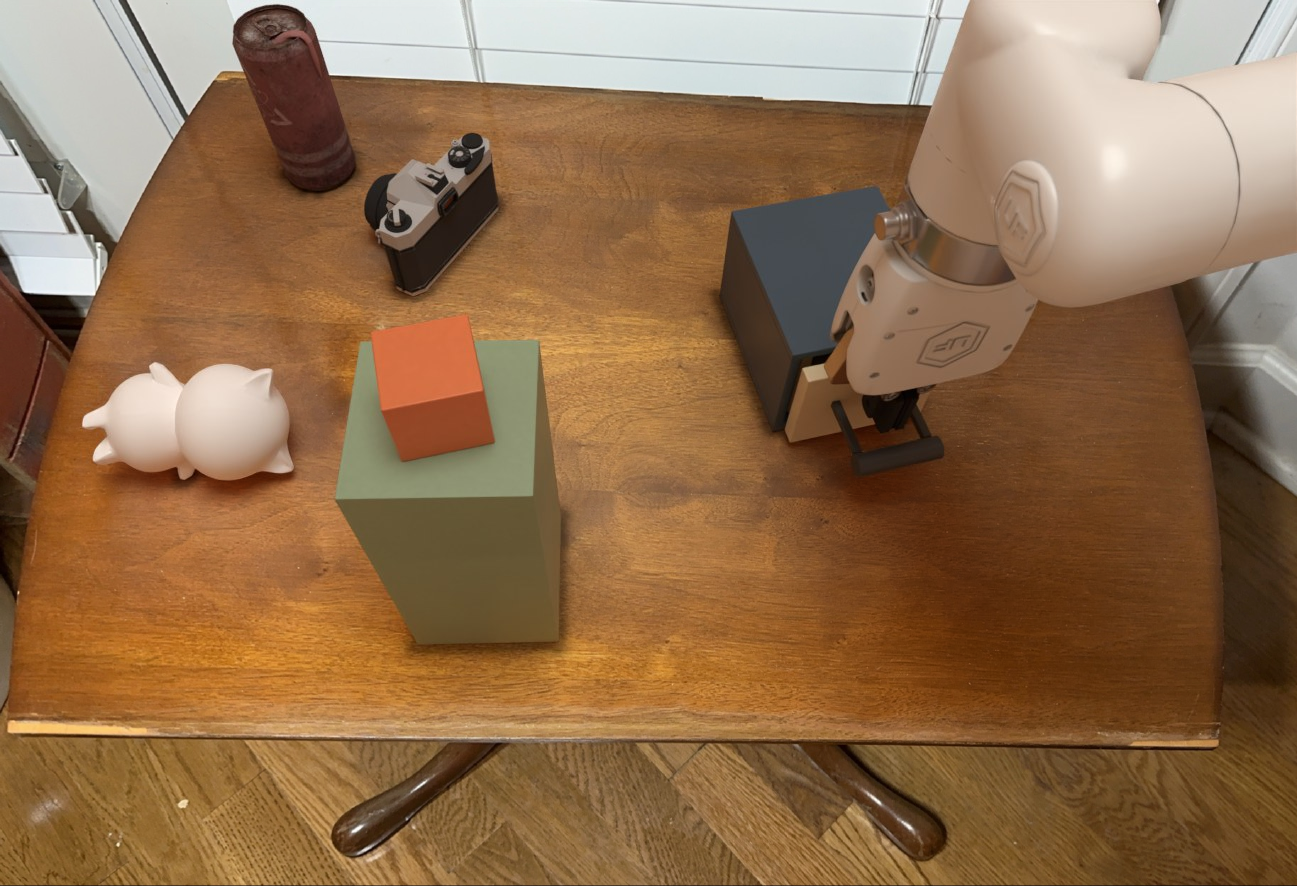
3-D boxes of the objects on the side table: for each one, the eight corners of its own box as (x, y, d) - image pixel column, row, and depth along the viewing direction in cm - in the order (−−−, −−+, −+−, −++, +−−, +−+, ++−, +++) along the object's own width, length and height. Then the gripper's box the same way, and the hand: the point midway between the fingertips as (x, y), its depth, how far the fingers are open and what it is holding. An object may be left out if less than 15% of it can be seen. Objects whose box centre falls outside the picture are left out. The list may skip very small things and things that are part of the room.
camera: (434, 171, 81) (409, 89, 73) (511, 199, 79) (493, 118, 71) (350, 278, 76) (313, 202, 68) (430, 311, 74) (401, 237, 66)
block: (495, 443, 43) (483, 390, 40) (401, 462, 43) (380, 410, 39) (480, 369, 45) (467, 313, 42) (390, 387, 45) (369, 331, 41)
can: (346, 198, 79) (297, 55, 67) (275, 188, 79) (214, 44, 67) (369, 150, 82) (326, 5, 70) (300, 141, 82) (246, -5, 70)
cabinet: (914, 401, 69) (953, 323, 61) (772, 431, 68) (792, 355, 60) (850, 270, 76) (877, 185, 68) (719, 295, 74) (731, 210, 66)
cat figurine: (57, 387, 57) (250, 383, 57) (140, 330, 66) (306, 327, 66) (97, 509, 61) (278, 505, 61) (170, 439, 70) (327, 436, 70)
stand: (558, 641, 59) (533, 496, 42) (417, 644, 59) (333, 499, 42) (561, 516, 64) (539, 339, 47) (430, 518, 63) (359, 341, 46)
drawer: (952, 481, 65) (989, 423, 58) (817, 512, 63) (840, 456, 57) (857, 289, 74) (880, 220, 67) (737, 313, 72) (749, 244, 66)
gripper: (861, 300, 43) (796, 485, 59) (1143, 245, 45) (1007, 437, 61) (807, 188, 47) (759, 390, 62) (1070, 143, 49) (960, 349, 65)
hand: (882, 413), depth 62 cm, fingers closed
